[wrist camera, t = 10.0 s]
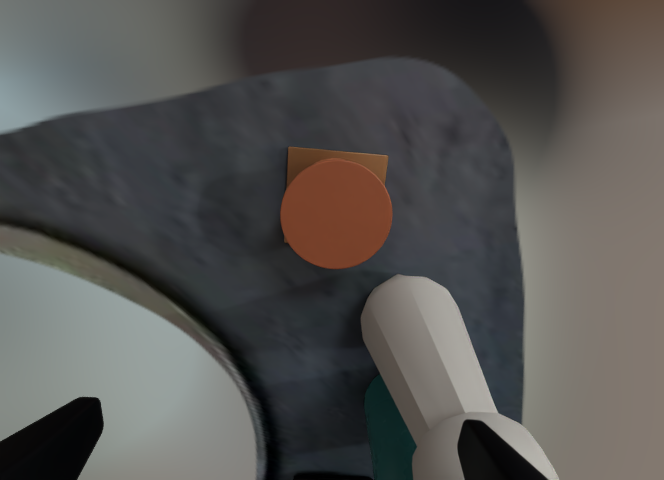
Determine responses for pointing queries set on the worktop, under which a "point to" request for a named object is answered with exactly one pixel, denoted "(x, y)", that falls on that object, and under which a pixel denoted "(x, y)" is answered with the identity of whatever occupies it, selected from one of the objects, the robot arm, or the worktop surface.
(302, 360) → the worktop surface
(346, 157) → the coaster
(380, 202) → the brown lid
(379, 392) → the tin
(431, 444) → the salt shaker
